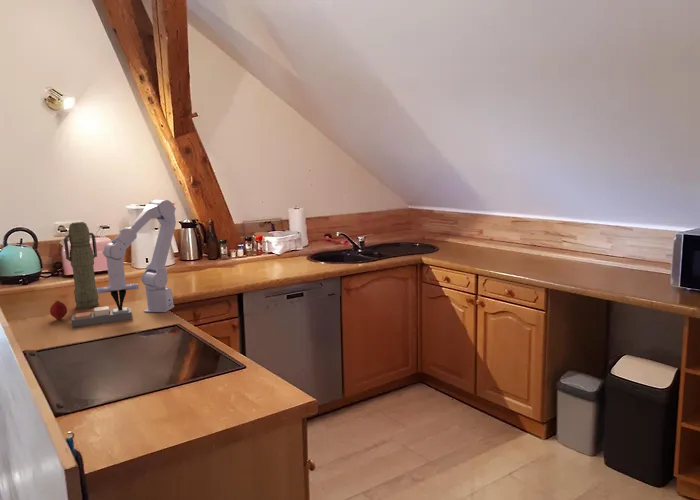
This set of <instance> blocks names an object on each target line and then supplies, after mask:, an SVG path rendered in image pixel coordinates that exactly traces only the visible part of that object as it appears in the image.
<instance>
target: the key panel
mask: <svg viewBox="0 0 700 500" xmlns="http://www.w3.org/2000/svg"><path fill="white" fill-rule="evenodd" d="M127 309H128V312H125V313H118V314H114V312H113V309H112V310H110V309H109V315H103V316H95V314H94V311H93V312H90V313H91V317H88V318H80V319H75V315H76V314H72V316H71V319H70V322H71V328H72V329H78V328H85V327H86V328H87V327H90V326H93V327H94V326H98V325H99V326H100V325H107V324H113V323H121V322H127V321H132V320H133V313H132V308H131V307H127Z"/></svg>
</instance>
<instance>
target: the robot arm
mask: <svg viewBox="0 0 700 500" xmlns="http://www.w3.org/2000/svg"><path fill="white" fill-rule="evenodd" d="M153 219H156V220H157V221H158V223H159V224H160V227H159V231H158V235H157V238H156V243H155V246H154V250H153V254H152V257H151V261H150V263H149V264H148V265H147V266H146V267H145V270H144V271H143V273H142V275H141V282H142V284H143V285H144V286H145V294H146V303H147V309H144V310H143V312H144V313H166V312H169V311H170V310H172V309H173V308H174V307H175V305H174V298H173V291H172V289H171V288H169V287H166V286H167V284H168V281H169V280H168V272H169V271H168V269H167V266H166V263H167V260H168V256H169V252H170V248H171V245H172V241H173V236H174V233H175V229H176V225H177V221H176V207H175V206H174V203H173V202H172V201H170V200H168V199H164V200H163V199H151V200H150V201H149V202H148V203H147V204H146V205H145V206H144V208H143V210H142V211H141V212H140V214H139V215H138V216H137V218H135V219H134V221H133V222H132V223H131V224H130V226H129V227H123V228H120V230H119V233H118V234H117V235H116V236H115V237H114V238H112V239H111V242H108V243H107V244H105V246H104V247H103V251H102V255H103V257H105V258H106V266H107V274H108V286H102V287H97V294H98V295H100V294H107V293H110V296H111V297H112V298H113V300H114V303H115V305H116V306H117V307H116V308H118V310H122V308H123V307H124V306H123V304H124V300H125V297H126V295H127V291H130V290H133V291H134V290H139V289H140V288H139V282H138V283H127V282H126V275H125V266H124V265H125V263H124V257H125V255H126V252H127V251H126V250H127V249H128V248H129V247H130V246H131V245H132V243H133V242H134V241H135V240H136V239H137V238H138V236H137V235H138V232H139V231H140V230H141V229H143V227H144V226H146V224H147V223H148V222H149V221H150V220H153Z"/></svg>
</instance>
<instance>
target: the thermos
mask: <svg viewBox="0 0 700 500" xmlns="http://www.w3.org/2000/svg"><path fill="white" fill-rule="evenodd" d="M90 237H91V238H90ZM68 239H69V243H70V246H69V244H68ZM91 243H92V246H91ZM63 245H64V254H65V260H67V261H68V262H70V266H71V268H72V274H73V282H74V283H73V284H74V291H73V295H74V302H75V306H76V308H77V309H91V308H96V307H97V306H98V307H99V294H97V288H98V287H97V285H96V278H95V277H96V276H95V269H94V268H95V267H94V265H95V258H97V257H98V249H97V240H96V235H95V234H94V233H93V232H90V229H89V227H88V224H87V223H86V222H84V221H80V222H79V221H78V222H72V223H70V224H69V227H68V235H65V237H64V238H63ZM69 247H70V249H69Z"/></svg>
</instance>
